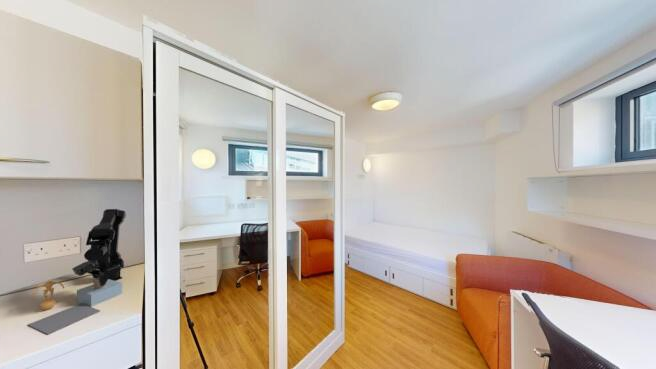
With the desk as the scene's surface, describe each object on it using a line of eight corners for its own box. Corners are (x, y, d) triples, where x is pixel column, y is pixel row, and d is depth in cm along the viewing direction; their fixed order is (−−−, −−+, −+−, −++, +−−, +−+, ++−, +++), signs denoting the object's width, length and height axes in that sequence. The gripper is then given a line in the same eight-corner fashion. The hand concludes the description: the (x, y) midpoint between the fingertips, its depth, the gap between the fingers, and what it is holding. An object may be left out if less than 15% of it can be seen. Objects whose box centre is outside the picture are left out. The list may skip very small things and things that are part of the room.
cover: (108, 289, 103) (108, 270, 103) (122, 293, 100) (122, 274, 100) (76, 301, 92) (76, 280, 92) (91, 306, 89) (91, 285, 89)
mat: (80, 304, 91) (80, 303, 91) (100, 311, 87) (100, 310, 87) (27, 325, 77) (27, 324, 77) (47, 334, 73) (47, 333, 73)
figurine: (30, 315, 82) (30, 287, 82) (32, 309, 86) (33, 282, 86) (63, 306, 89) (63, 280, 88) (64, 300, 92) (64, 275, 92)
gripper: (63, 256, 90) (63, 289, 91) (89, 263, 85) (88, 298, 86) (97, 248, 101) (97, 278, 101) (122, 254, 96) (121, 285, 96)
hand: (100, 284), depth 96 cm, fingers closed on cover, 3 cm apart
